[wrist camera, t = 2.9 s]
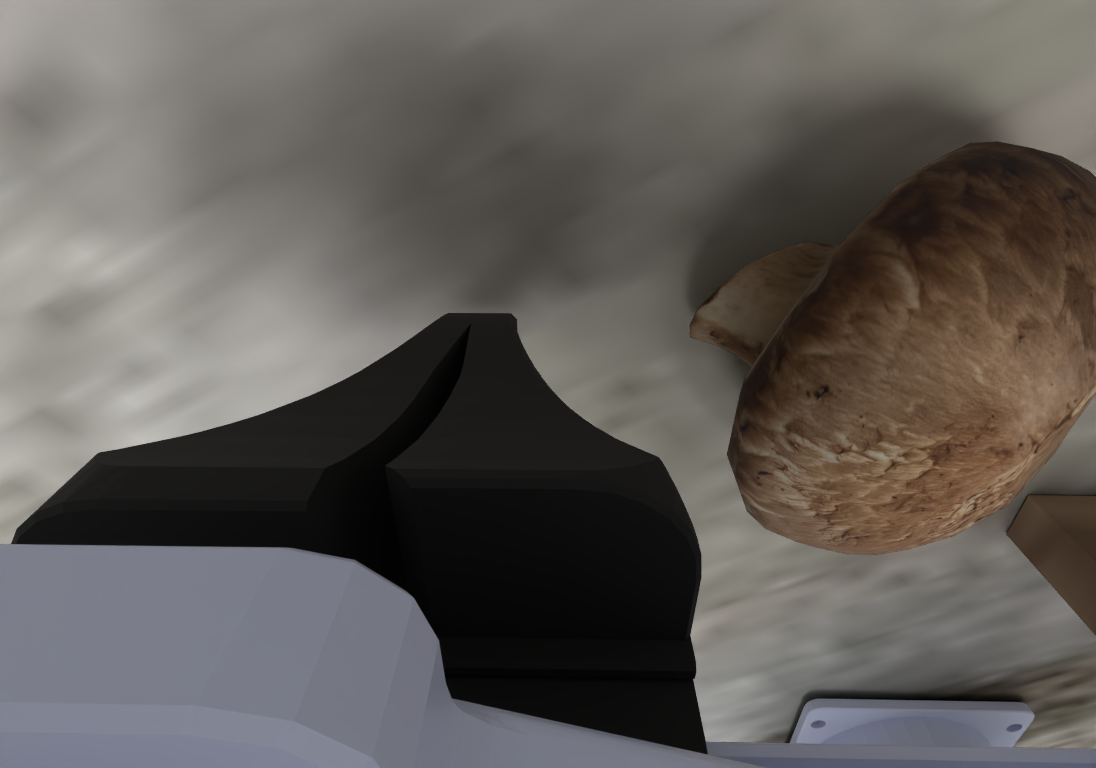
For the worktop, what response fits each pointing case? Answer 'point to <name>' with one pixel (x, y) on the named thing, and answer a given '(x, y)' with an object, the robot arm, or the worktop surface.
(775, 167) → the worktop surface
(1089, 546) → the wooden crate
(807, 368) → the mushroom
